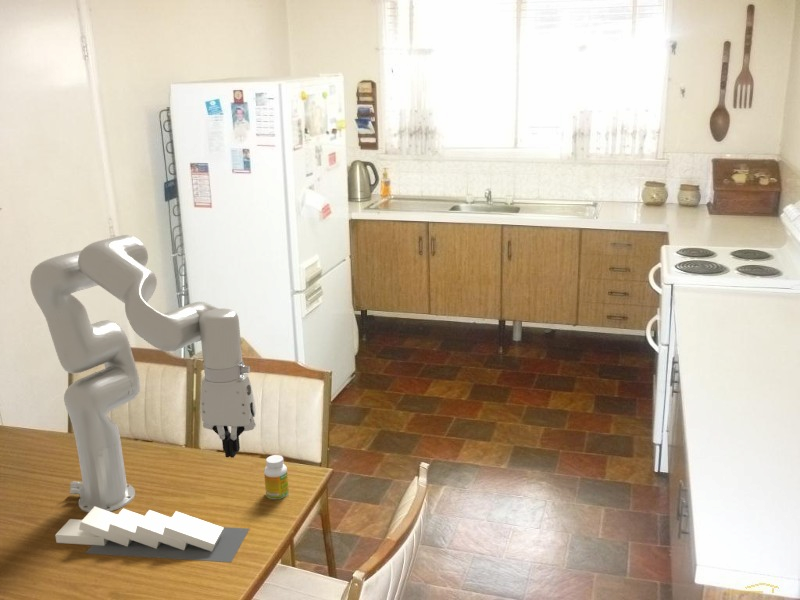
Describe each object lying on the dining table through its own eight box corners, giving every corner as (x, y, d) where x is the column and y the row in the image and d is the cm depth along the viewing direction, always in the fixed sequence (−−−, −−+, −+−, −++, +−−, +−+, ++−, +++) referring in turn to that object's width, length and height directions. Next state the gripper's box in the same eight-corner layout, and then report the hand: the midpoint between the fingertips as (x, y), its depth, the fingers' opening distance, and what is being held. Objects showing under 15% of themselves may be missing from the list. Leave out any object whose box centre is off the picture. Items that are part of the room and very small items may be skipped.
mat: (85, 555, 161) (85, 553, 161) (113, 523, 172) (112, 521, 172) (231, 564, 157) (231, 562, 157) (249, 530, 168) (249, 528, 168)
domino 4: (184, 550, 161) (135, 533, 161) (194, 533, 166) (147, 517, 167) (186, 542, 160) (137, 525, 160) (196, 526, 166) (149, 509, 166)
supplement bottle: (284, 502, 179) (281, 465, 176) (262, 500, 180) (259, 463, 177) (292, 490, 184) (289, 454, 181) (270, 488, 185) (268, 452, 182)
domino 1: (104, 545, 163) (56, 542, 164) (117, 529, 169) (71, 526, 170) (103, 537, 162) (55, 534, 164) (116, 521, 168) (70, 519, 170)
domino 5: (212, 551, 160) (162, 534, 160) (221, 535, 166) (174, 518, 166) (214, 544, 159) (164, 526, 160) (223, 527, 165) (175, 511, 165)
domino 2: (127, 546, 162) (79, 529, 162) (139, 530, 168) (92, 513, 168) (129, 539, 162) (80, 521, 162) (141, 523, 167) (94, 506, 167)
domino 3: (156, 548, 162) (108, 531, 162) (168, 532, 167) (121, 515, 167) (158, 541, 161) (109, 523, 161) (170, 525, 167) (123, 508, 167)
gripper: (266, 365, 153) (272, 447, 159) (195, 363, 155) (203, 444, 160) (254, 379, 146) (261, 465, 151) (180, 377, 148) (190, 461, 153)
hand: (232, 454), depth 156 cm, fingers closed
